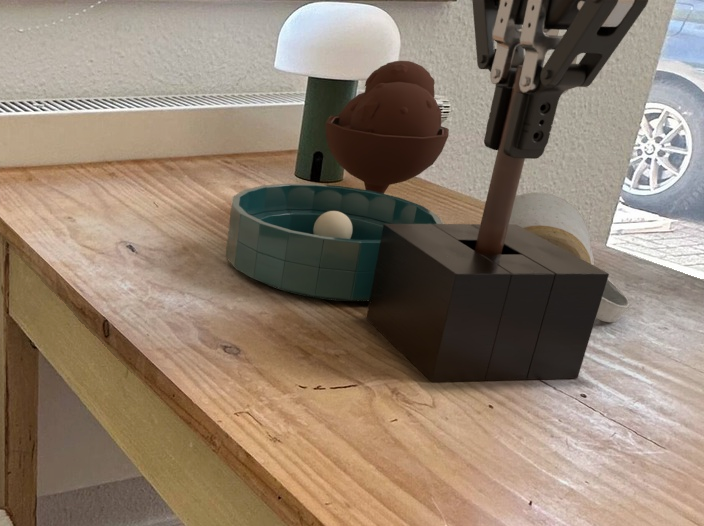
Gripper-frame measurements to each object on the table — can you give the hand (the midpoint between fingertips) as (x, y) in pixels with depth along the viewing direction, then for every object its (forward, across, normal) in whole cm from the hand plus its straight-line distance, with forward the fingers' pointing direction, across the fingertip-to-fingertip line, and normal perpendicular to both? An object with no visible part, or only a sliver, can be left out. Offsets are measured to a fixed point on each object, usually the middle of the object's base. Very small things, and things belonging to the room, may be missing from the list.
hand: (511, 151), depth 53 cm
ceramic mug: (+13, +7, -10) cm, 18 cm away
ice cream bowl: (+13, +27, -5) cm, 30 cm away
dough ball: (+11, +19, +2) cm, 22 cm away
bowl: (+13, +15, +4) cm, 20 cm away
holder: (+13, 0, 0) cm, 13 cm away
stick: (+13, 0, 0) cm, 13 cm away
